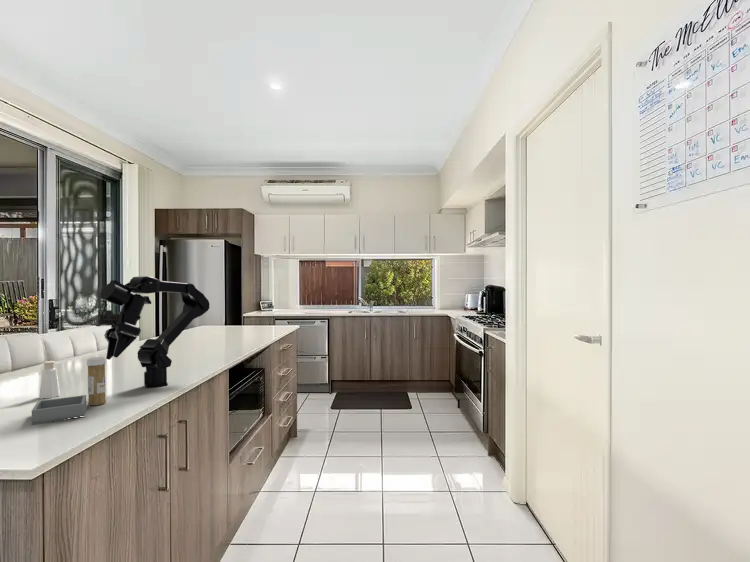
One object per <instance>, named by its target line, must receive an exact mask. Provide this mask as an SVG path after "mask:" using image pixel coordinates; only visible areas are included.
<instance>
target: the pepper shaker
mask: <svg viewBox="0 0 750 562" xmlns="http://www.w3.org/2000/svg"><path fill="white" fill-rule="evenodd" d="M55 362H56V361H55V360H47V361H46V360H45V361H44V362H43V367H44V368H43V369H42V371H41V378H40V387H39V394H38V395H39V396H38V397H39V399H41V398H47V399H53V398H52V397H54V398H57V397H56V396H58V397H59V396H60V395H61V390H60V385H59V383H60V382H59V379H58V370H57V368H55Z"/></svg>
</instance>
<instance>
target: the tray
mask: <svg viewBox="0 0 750 562" xmlns="http://www.w3.org/2000/svg"><path fill="white" fill-rule="evenodd" d="M85 410H86V411H87V394H83V395H76V396H67V397H58V398H48V399H40V400H37V402H36V403H35V405H34V406H33V408H32V409H31V426H32V425H40V424H47V423H52V421H54V422H58V421H57V420H61V421H65V420H64V419H68V418H74V417H80V416H84V415H85V416H86V412H85ZM68 420H69V419H68Z"/></svg>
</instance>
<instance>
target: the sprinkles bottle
mask: <svg viewBox="0 0 750 562" xmlns="http://www.w3.org/2000/svg"><path fill="white" fill-rule="evenodd" d="M86 365H87V394H88V396H87V398H88V399H87V400H88V402H87V405H88V406H90V405H96V406H99V405H98V404H101V405H104V404H106V403H107V399H106V358H105V356H97V357H89V358H87V359H86ZM105 402H106V403H105ZM103 403H104V404H103Z"/></svg>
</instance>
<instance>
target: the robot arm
mask: <svg viewBox="0 0 750 562" xmlns="http://www.w3.org/2000/svg"><path fill="white" fill-rule="evenodd" d="M109 281H110V282H109V283H107V284H105V286H104V287H103V288H102V289H101V291H100V299H102V300H103V301H106V302H108V303H110V304H112V305H115V306H117V307H121V306H122V307H121V309H120V311H119V312H116V313H117V314H116V313H114V312H113V310H105V311H104V312H103V314H102V313H101V314H97V315H96V316H95V327H102V326H103V327H104V326H105V327H106V326H110V328H108V329H106V330H105V333H104V335H103V336H104V339H105V340H106V341H107V350H106V358H105V360H109V361H110V360H111V359H112V358H118V357H119V356H120V355H121V354H122V353H123V352H124V351H125V350H126V349H127V348H129V347H130V345H131V344H132V343H134V341H136V339H137V337H139V336H140V334H141V333H142V332H141V331H142V329H141V328H140V326H139V325H137V323H138V322H139V320H140V319H141V317H142V316H141V313H142V311H143V309H144V306H145V305H151V304H152V300H151V299H150V296H148V294H154V293H156V294H157V293H159V292H162V293H174V294H175V293H176V294H180V298H181V301H182V303H183V306H182V310H181V311H182V312H181V313H180V314H179V315H178V316H177V317H176V318H175V319H174V320H173V321H172V322H171V323H170V324H169V325H168V326H167V327H166V328H165V330H163V332H162V333H160V335H159V336H158V337H157V338H155V339H154V338H147V339H146V340H145V341H144V343H143V344H142V345H140V346H139V350H138V351H137V359H138V361H139V364H140V365H141V368H145V371H144V372H143V386H145V388H154V387H162V386H168V385H169V383H168V376H167V374H168V371H167V369H168V368H169V367H171V365H172V362H173V361H172V359H171V358H170V357H169V356H168V354H169V349H170V346H171V345H172V344H173V343H174V342H175V341H176V339H177V338H178V337H179V336H180V335H181V334H182V332H184V330H185V329H186V328H187V327H188V326H189V325H190V324H191V323H192V322H193V320H194V319H197V318H200V317H202V316H203V315H204V314H206V313H207V312H208V311H209V309H210V308H211V307H210V301H209V299H208V298H207V297H206V296H205V294H204V293H203V292H201V291H200V290H198V289H197V287H196V286H195V285H194V283H191V282H178V281H177V282H174V281H166V280H160V279H158V278H156V277H152V276H150V275H148V276H145V275H144V276H133V277H132V278H131V279H130V280H129V281H128V282H127V283H126V284H125V283H124V284H123V283H121V282H120V281H118V280H117V279H111V280H109ZM141 294H147V296H146V295H144V296H143V295H141Z"/></svg>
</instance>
